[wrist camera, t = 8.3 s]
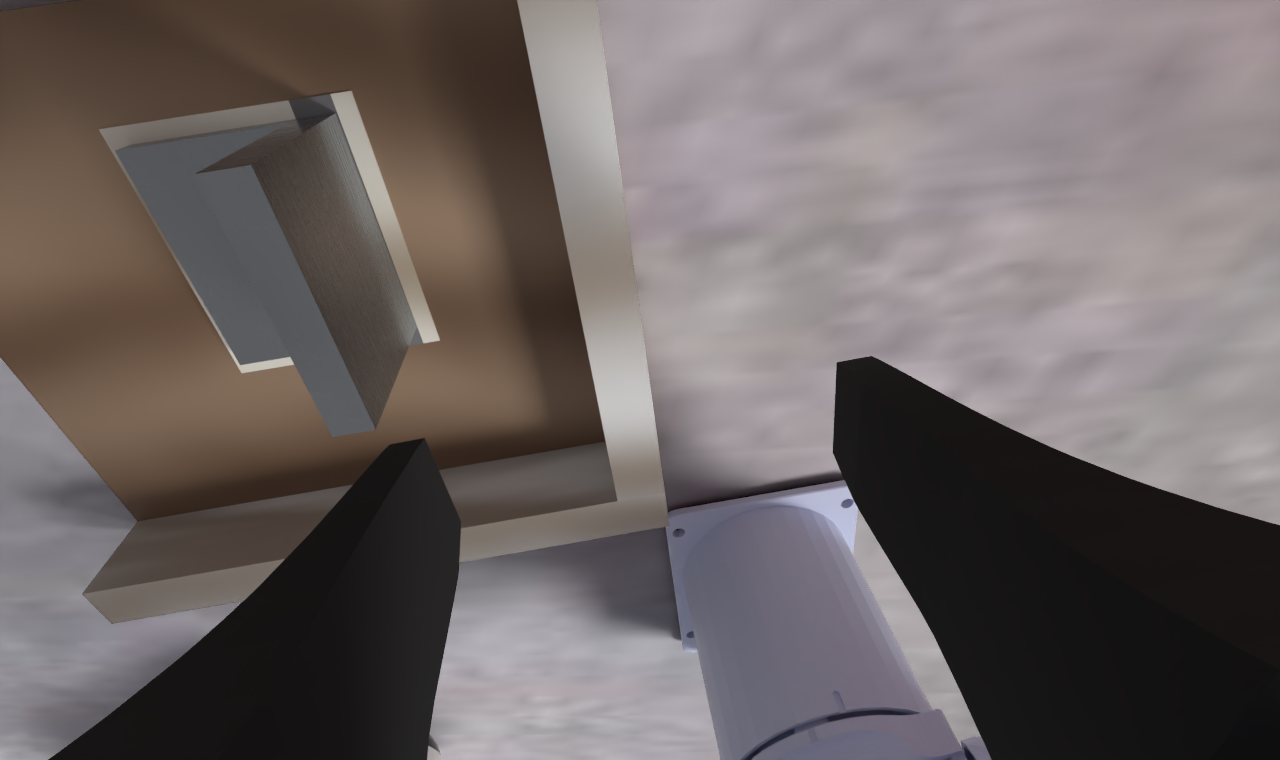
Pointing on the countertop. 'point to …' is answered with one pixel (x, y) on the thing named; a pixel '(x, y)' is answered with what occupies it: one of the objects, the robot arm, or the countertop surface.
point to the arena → (415, 238)
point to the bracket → (285, 255)
